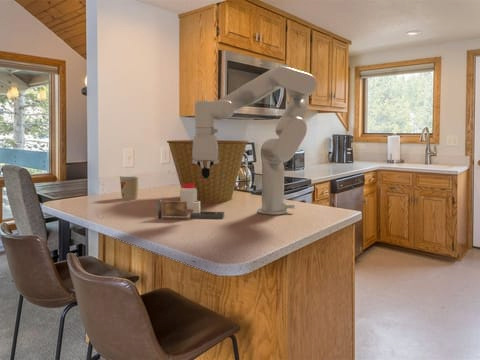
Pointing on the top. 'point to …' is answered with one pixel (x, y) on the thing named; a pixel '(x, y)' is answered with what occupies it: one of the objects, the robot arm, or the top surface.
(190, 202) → the pill bottle
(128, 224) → the top surface
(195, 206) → the fader cap
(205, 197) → the basket
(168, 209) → the door
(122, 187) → the coffee cup
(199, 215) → the board
